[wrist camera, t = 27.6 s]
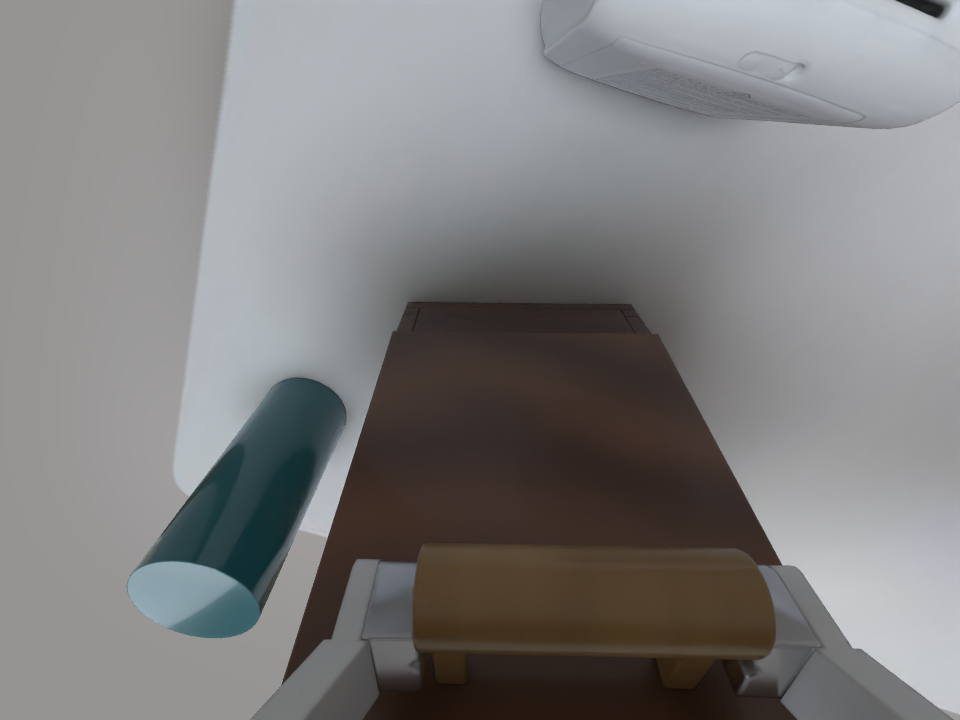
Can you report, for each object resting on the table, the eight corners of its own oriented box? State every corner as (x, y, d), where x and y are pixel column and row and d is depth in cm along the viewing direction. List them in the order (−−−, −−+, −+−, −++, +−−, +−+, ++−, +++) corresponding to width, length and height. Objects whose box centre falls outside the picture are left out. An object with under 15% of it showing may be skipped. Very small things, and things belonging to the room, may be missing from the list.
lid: (901, 834, 9) (1119, 765, 6) (252, 818, 9) (139, 740, 6) (654, 346, 22) (682, 248, 19) (394, 344, 22) (381, 246, 19)
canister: (358, 399, 29) (275, 588, 18) (330, 453, 31) (241, 650, 20) (279, 364, 28) (137, 544, 17) (256, 423, 30) (117, 615, 19)
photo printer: (792, 18, 19) (1183, -88, 8) (738, 129, 21) (994, 159, 10) (559, -63, 18) (664, -307, 7) (526, 63, 20) (570, 20, 9)
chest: (595, 501, 33) (607, 548, 30) (423, 498, 33) (416, 545, 30) (631, 303, 26) (653, 335, 22) (407, 301, 26) (395, 333, 22)
